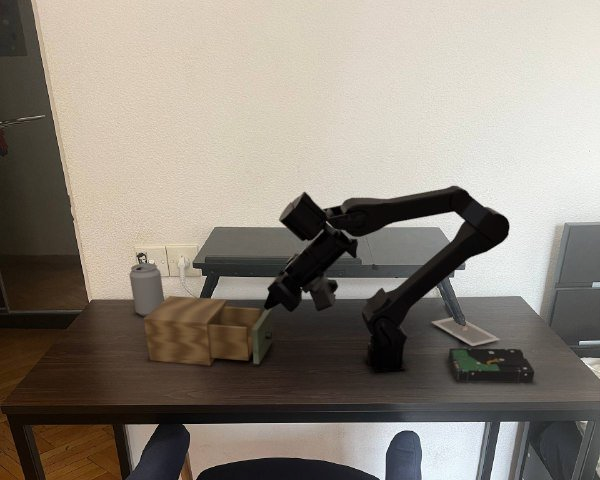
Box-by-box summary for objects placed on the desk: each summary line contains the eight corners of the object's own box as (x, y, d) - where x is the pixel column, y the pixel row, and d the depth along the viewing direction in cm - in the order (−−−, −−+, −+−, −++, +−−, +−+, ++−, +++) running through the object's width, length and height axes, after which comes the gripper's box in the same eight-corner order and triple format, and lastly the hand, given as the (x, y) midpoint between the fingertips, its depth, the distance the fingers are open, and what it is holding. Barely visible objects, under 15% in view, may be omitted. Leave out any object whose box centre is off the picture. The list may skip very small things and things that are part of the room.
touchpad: (456, 320, 141) (457, 312, 140) (499, 343, 129) (501, 334, 128) (430, 326, 138) (431, 317, 137) (471, 350, 126) (473, 341, 125)
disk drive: (517, 360, 122) (447, 359, 123) (520, 348, 121) (448, 347, 121) (532, 384, 113) (456, 382, 114) (535, 371, 112) (458, 370, 112)
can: (142, 306, 152) (135, 261, 146) (169, 307, 151) (163, 262, 145) (131, 316, 145) (123, 270, 139) (159, 318, 144) (153, 271, 138)
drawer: (278, 340, 130) (277, 307, 126) (264, 365, 120) (263, 330, 116) (220, 336, 132) (217, 303, 129) (201, 359, 122) (198, 325, 118)
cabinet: (230, 339, 133) (226, 299, 128) (210, 365, 122) (206, 323, 117) (174, 334, 136) (169, 295, 131) (150, 360, 124) (143, 318, 119)
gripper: (341, 304, 102) (283, 355, 110) (355, 271, 118) (303, 318, 126) (297, 258, 100) (240, 314, 108) (316, 231, 116) (266, 281, 123)
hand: (265, 308), depth 116 cm, fingers closed
